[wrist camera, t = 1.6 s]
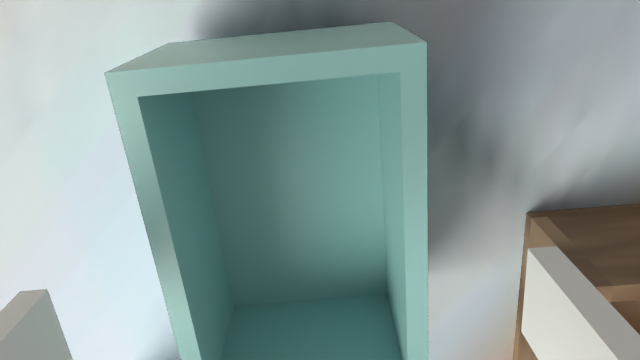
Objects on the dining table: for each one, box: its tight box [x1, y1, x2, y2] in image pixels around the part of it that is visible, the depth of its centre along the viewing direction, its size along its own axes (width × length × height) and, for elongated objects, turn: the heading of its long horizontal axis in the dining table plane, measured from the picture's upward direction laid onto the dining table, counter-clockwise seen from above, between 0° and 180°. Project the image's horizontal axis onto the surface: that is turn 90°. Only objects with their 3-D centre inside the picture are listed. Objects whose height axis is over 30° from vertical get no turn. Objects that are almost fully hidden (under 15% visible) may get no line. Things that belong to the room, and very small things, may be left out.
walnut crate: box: [513, 204, 640, 360], centre depth 22 cm, size 12×7×6 cm, turn 5°
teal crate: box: [104, 21, 428, 360], centre depth 18 cm, size 12×8×7 cm
